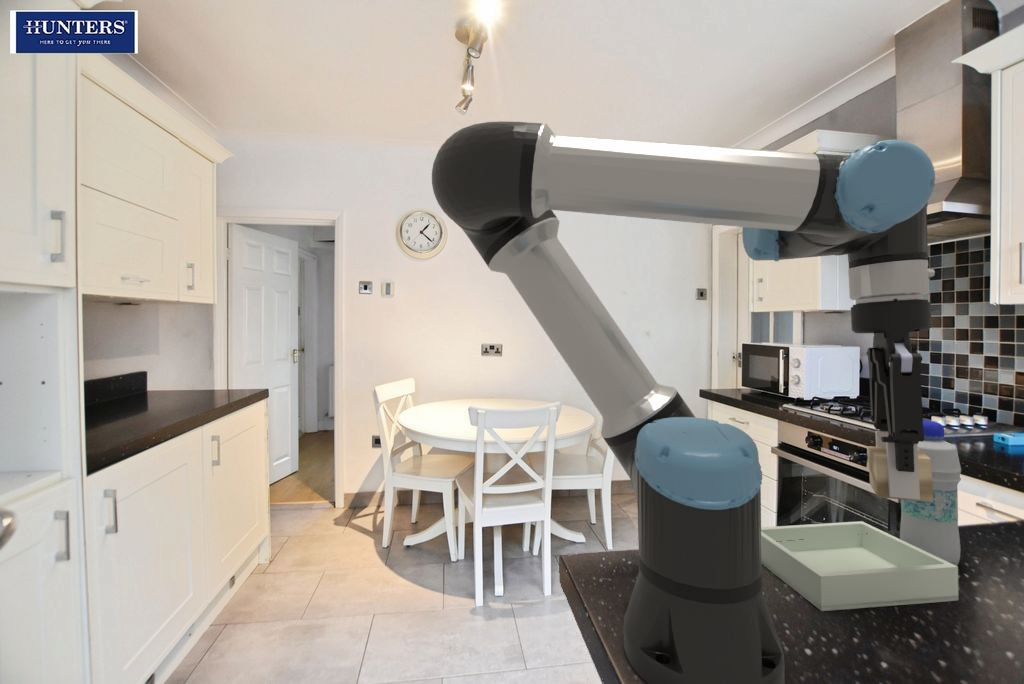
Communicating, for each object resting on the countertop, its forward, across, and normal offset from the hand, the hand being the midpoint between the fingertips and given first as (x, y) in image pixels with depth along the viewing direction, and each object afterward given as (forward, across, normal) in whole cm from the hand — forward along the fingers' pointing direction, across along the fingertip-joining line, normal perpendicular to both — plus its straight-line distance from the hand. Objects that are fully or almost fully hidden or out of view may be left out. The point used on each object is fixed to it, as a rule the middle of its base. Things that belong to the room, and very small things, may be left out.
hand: (897, 489), depth 55 cm
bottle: (+14, +13, -6) cm, 20 cm away
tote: (+13, +3, +5) cm, 15 cm away
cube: (0, 0, 0) cm, 0 cm away
